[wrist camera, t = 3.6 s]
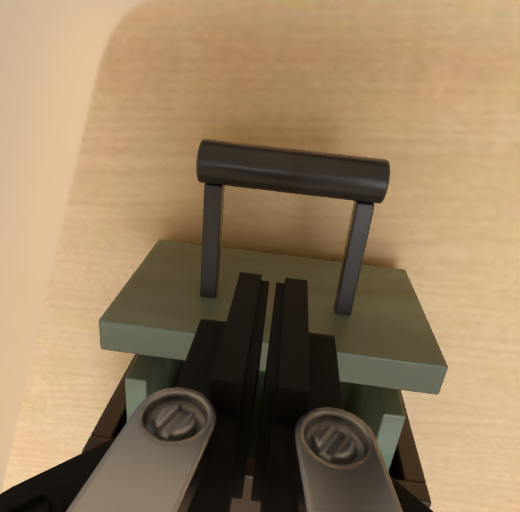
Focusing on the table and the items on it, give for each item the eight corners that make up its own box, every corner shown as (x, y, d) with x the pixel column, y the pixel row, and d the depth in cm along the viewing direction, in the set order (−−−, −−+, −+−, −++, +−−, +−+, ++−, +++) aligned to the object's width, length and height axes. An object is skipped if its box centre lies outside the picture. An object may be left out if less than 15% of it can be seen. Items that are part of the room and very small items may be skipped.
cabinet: (153, 319, 24) (80, 452, 16) (390, 350, 23) (432, 503, 16) (156, 498, 30) (104, 655, 22) (341, 526, 30) (354, 696, 22)
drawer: (158, 111, 18) (84, 146, 12) (439, 142, 18) (509, 195, 12) (160, 444, 27) (117, 564, 20) (351, 472, 26) (365, 603, 20)
